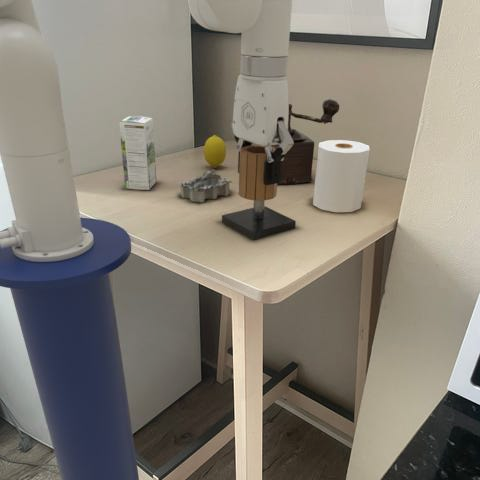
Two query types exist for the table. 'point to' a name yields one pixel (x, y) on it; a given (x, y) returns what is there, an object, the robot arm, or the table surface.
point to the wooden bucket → (254, 174)
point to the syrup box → (138, 152)
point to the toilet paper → (340, 175)
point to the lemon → (214, 151)
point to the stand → (258, 221)
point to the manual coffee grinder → (303, 147)
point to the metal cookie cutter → (205, 187)
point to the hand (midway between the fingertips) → (258, 177)
